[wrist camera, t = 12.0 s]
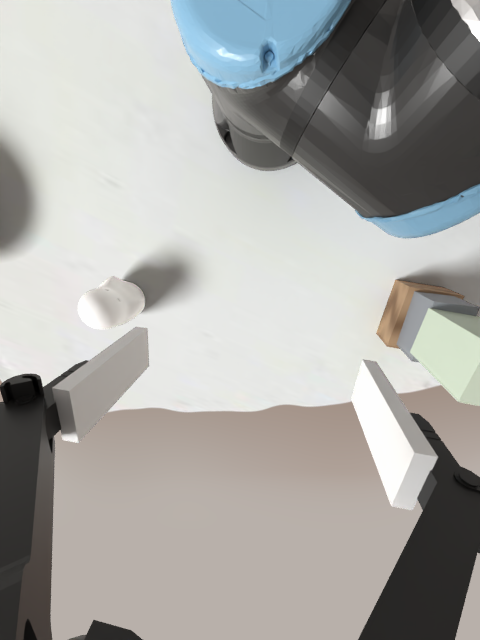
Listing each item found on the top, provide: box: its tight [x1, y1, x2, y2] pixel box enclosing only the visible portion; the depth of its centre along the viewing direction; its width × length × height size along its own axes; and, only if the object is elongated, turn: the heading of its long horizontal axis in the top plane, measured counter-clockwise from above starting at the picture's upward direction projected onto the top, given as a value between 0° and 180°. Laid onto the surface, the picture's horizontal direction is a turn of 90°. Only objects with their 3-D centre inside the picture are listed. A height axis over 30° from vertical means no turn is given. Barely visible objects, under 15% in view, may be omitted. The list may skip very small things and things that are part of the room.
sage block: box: [410, 308, 480, 406], centre depth 28 cm, size 6×6×10 cm
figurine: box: [78, 276, 145, 329], centre depth 42 cm, size 7×8×12 cm
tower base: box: [376, 280, 464, 349], centre depth 39 cm, size 9×7×5 cm
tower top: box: [396, 291, 480, 362], centre depth 35 cm, size 8×5×5 cm, turn 175°
